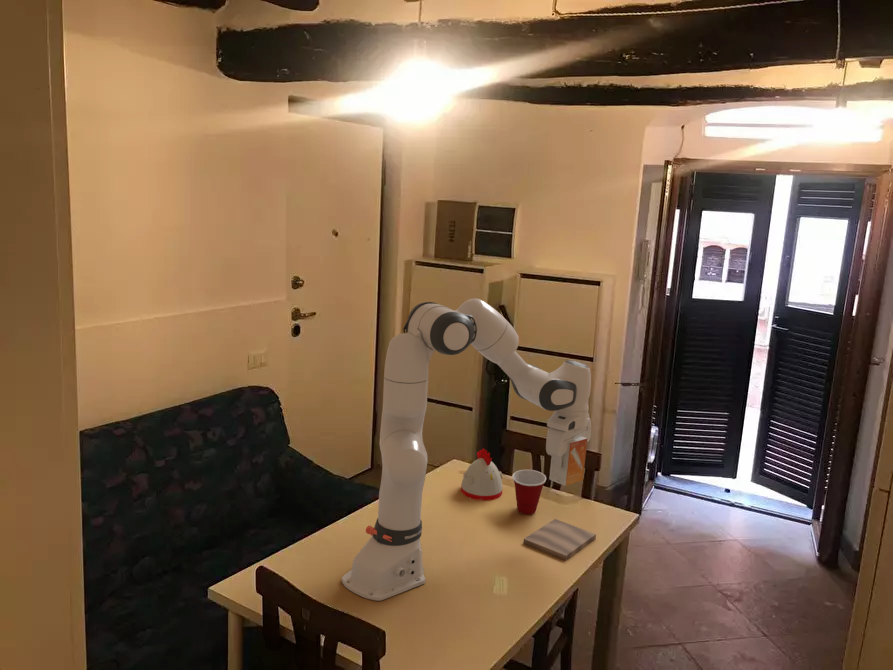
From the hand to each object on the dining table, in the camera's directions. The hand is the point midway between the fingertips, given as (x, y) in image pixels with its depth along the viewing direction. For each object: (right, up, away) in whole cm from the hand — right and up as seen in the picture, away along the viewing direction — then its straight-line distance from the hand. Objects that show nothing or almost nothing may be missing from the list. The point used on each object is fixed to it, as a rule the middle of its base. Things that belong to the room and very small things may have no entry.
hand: (567, 463), depth 210 cm
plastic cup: (-9, -20, +23) cm, 32 cm away
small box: (0, -5, +1) cm, 5 cm away
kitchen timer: (-23, -16, +36) cm, 46 cm away
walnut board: (-1, -24, +5) cm, 24 cm away
